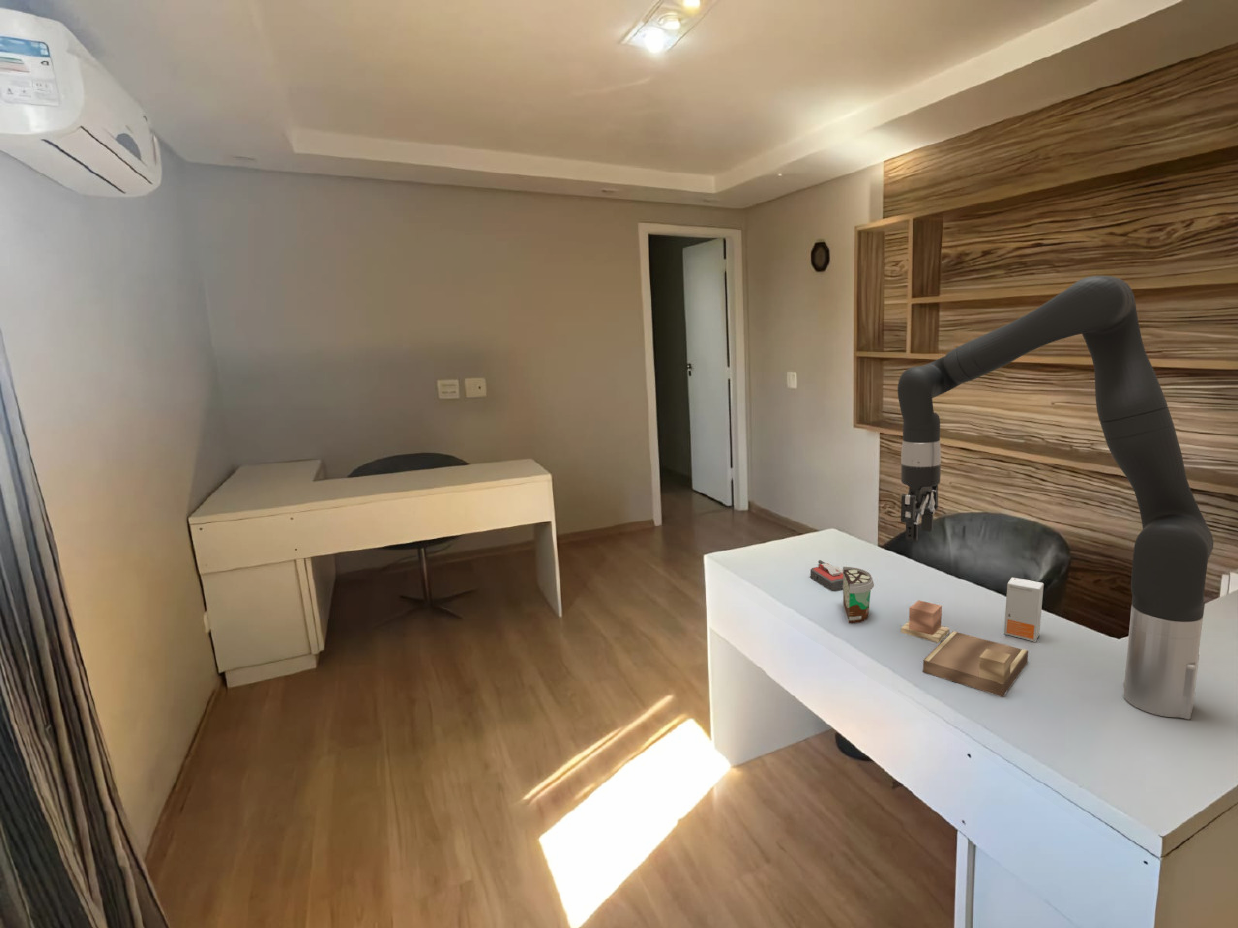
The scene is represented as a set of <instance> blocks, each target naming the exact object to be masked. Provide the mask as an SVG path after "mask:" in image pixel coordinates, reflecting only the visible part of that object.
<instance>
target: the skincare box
mask: <svg viewBox="0 0 1238 928" xmlns="http://www.w3.org/2000/svg"><path fill="white" fill-rule="evenodd" d="M1044 586H1045V584H1044V583H1043V582H1041V581H1040V582H1038V581H1033V580H1029V579H1023V578H1017V577H1010V579H1009V580H1008V582H1007V584H1006V595H1005V596H1006V597H1005V599H1006V600H1005V611H1004V614H1005V615H1004V625H1003V626H1004V627H1003V634H1004V635H1006V636H1011V637H1015V638H1019V639H1023V640H1027V641H1030V642H1034V643H1035V642H1036V641H1037V639H1038V637H1039V636H1040V633H1041V618H1042V608H1043V607H1042V605H1043V596H1044V595H1043V594H1044Z"/></svg>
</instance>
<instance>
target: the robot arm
mask: <svg viewBox="0 0 1238 928" xmlns="http://www.w3.org/2000/svg"><path fill="white" fill-rule="evenodd" d="M1080 334H1082V337H1083V339H1084V341H1085V344H1086V346H1087V349H1088V352H1089V354H1090V357H1091V360H1092V364H1093V365H1092V366H1093V370H1094V390H1095V391H1094V392H1095V393H1094V394H1095V407H1096V412H1097V417H1098V420H1099V424H1100V427H1101V430H1102V433H1103V437H1104V438H1105V439H1104V440H1105V443H1106V445H1107V447H1108V449H1109V451H1110V454H1111V455H1112V457H1113V459H1114V461H1115V462H1116V464H1117V466H1118V467H1119V469H1120V470H1121V471H1122V473H1123V475H1124V476H1125V477H1126V479H1127V481H1128V482H1129V485H1130V486H1131V487H1132V489H1133V492H1134V496H1135V499H1136V502H1137V505H1138V510H1139V514H1140V519H1141V525H1142V526H1141V527H1142V530H1141V531H1140V532H1139V533H1138V535H1137V537H1136V539H1135V542H1134V546H1133V554H1132V566H1131V582H1130V589H1131V590H1130V591H1131V596H1132V599H1131V607H1130V620H1129V628H1128V629H1129V630H1128V640H1127V649H1126V661H1125V670H1124V682H1123V692H1122V695H1123V696H1122V697H1123V698H1124V699H1125V700H1126V702H1128V703H1129V704H1130V705H1131V706H1133V707H1135V708H1137V709H1139V710H1141V711H1143V712H1147V713H1150V714H1152V715H1155V716H1161V717H1165V718H1166V717H1167V718H1168V717H1169V718H1181V719H1185V720H1191V717H1192V712H1193V709H1194V706H1195V704H1194V703H1195V696H1196V695H1195V694H1196V688H1197V680H1198V672H1199V671H1198V670H1199V665H1200V663H1199V661H1200V647H1201V637H1202V630H1203V621H1204V614H1205V607H1206V606H1205V604H1206V603H1205V588H1206V580H1207V572H1208V564H1209V558H1210V557H1211V555H1212V553H1213V549H1214V538H1213V535H1212V532H1211V529H1210V528H1209V526H1208V524H1207V521H1206V520H1205V517H1204V515H1203V513H1202V511H1201V509H1200V507H1199V505H1198V503H1197V501H1196V499H1195V495H1193V492H1192V489H1191V487H1190V485H1189V481H1188V478H1187V474H1186V469H1185V464H1184V459H1183V454H1182V449H1181V446H1180V443H1179V439H1178V435H1177V431H1176V427H1175V424H1174V421H1173V419H1172V418H1173V417H1172V415H1171V411H1170V408H1169V406H1168V402H1167V400H1166V398H1165V395H1164V393H1163V389H1162V387H1161V384H1160V382H1159V379H1158V377H1157V375H1156V371H1155V370H1154V367H1153V365H1152V363H1151V361H1150V359H1149V356H1148V354H1147V352H1146V349H1145V346H1144V342H1143V338H1142V332H1141V328H1140V324H1139V317H1138V311H1137V306H1136V299H1135V294H1134V293H1133V290H1132V288H1131V286H1130V285H1129V284H1128V283H1127V282H1125V281H1124V280H1123V279H1121V278H1118V277H1115V276H1110V275H1092V276H1087V277H1083V278H1081V279H1080V280H1077V281H1075V282H1074V283H1073V284H1072V285H1071V286H1069V287H1067V288H1066V289H1064V290H1063V291H1062V292H1060V293H1059V294H1057V295H1055V296H1053V298H1051V299H1049V300H1048V301H1046V302H1045V303H1043V304H1042V305H1041V306H1039V307H1036V309H1034V310H1032V311H1030V312H1028V313H1027V314H1024V315H1023V316H1021V317H1019V318H1017V319H1015V320H1013V321H1011V322H1009V323H1007V324H1005V325H1003V326H999V327H998V328H995V329H993V330H992V331H989V332H987V333H984V334H982V335H981V336H978V337H976V338H974V339H972V340H970V341H968V342H965V343H964V344H961V345H959V346H957V347H955V348H953V349H951V350H950V351H948V352H947V353H946V354H945V356H943V357H940V358H938V359H935V360H934V361H931V362H929V363H926V364H924V365H919V366H912V367H909V368H907V369H906V370H904V371H903V372H902V374H901V375H900V377H899V379H898V383H897V397H898V398H897V399H898V404H899V409H900V413H901V415H902V421H903V423H902V445H901V459H900V460H901V461H900V462H901V463H900V464H901V466H900V468H901V470H900V471H901V473H900V481H901V483H902V484H903V485H906V486H907V487H909V488H908V492H907V494H906V493H902V494H901V499H900V500H901V503H900V504H901V505H900V523H904V524H905V540H906V541H907V542H912V543H913V542H914V543H915V542H917V541H918V540H919V521H921V523H920V525H921V526H920V528H921V530H922V531H923V532H929V533H930V532H932V531H933V530H934V515H935V513H936V510H938V509H939V485H940V483H941V474H942V473H941V470H942V467H941V466H942V465H941V464H942V448H941V418H940V415H939V414H938V413H936V412H934V402H933V398H934V399H935V398H936V397H939V396H941V395H943V394H945V393H947V392H950V391H951V390H953V389H955V388H956V387H958V386H960V385H962V384H965V383H968V382H971V381H973V380H975V379H977V378H980V377H982V376H985V375H987V374H990V373H992V372H994V371H996V370H998V369H1000V368H1003V367H1004V366H1006V365H1009V364H1010V363H1012V362H1013V361H1015V360H1017V359H1019V358H1021V357H1022V356H1024V355H1026V354H1028V353H1030V352H1032V351H1035V350H1036V349H1039V348H1041V347H1044V346H1046V345H1048V344H1051V343H1054V342H1056V341H1060V340H1063V339H1066V338H1069V337H1070V338H1071V337H1074V336H1078V335H1080ZM920 518H921V520H920Z"/></svg>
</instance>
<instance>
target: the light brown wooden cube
mask: <svg viewBox="0 0 1238 928" xmlns="http://www.w3.org/2000/svg"><path fill="white" fill-rule="evenodd" d="M1010 659H1011V655H1010V654H1006V653H1002V652H998V651H994V650H990V649H986V650H985V651H984V652H983V653H982V655H981V656H980V657H979V677H981V678H985V679H988V680H992V681H996V682H999V683H1003V684H1004V682H1005V681H1006V680H1007V678H1008V677H1009V676H1010Z"/></svg>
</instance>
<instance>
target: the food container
mask: <svg viewBox="0 0 1238 928" xmlns="http://www.w3.org/2000/svg"><path fill="white" fill-rule="evenodd" d="M842 570H843V590H842V599H843V600H842V601H843V602H842V603H843V604H842V605H843V607H842V608H843V610H844V613H845V616H846V619H847V622H848V624H857V623H858V624H859V623H862V622H865V621H866V620H868V618H869V612H870V603H871V591H872V590H873V588H874V586H875V582H874V579H873V576H872V574H871V573H870V572H868V571H866V570H864V569H861V568H858V567H853V566H842Z"/></svg>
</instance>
